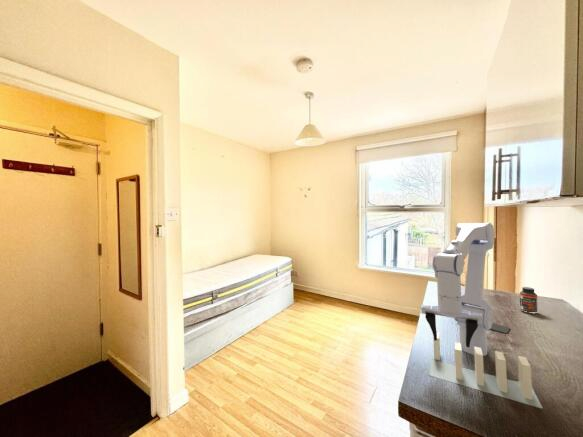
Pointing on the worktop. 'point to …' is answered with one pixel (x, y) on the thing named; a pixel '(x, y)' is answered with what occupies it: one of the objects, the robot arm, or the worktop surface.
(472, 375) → the board
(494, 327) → the smartphone
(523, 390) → the domino
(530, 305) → the supplement bottle
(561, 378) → the worktop surface
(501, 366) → the domino
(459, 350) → the domino
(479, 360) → the domino
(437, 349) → the head domino
